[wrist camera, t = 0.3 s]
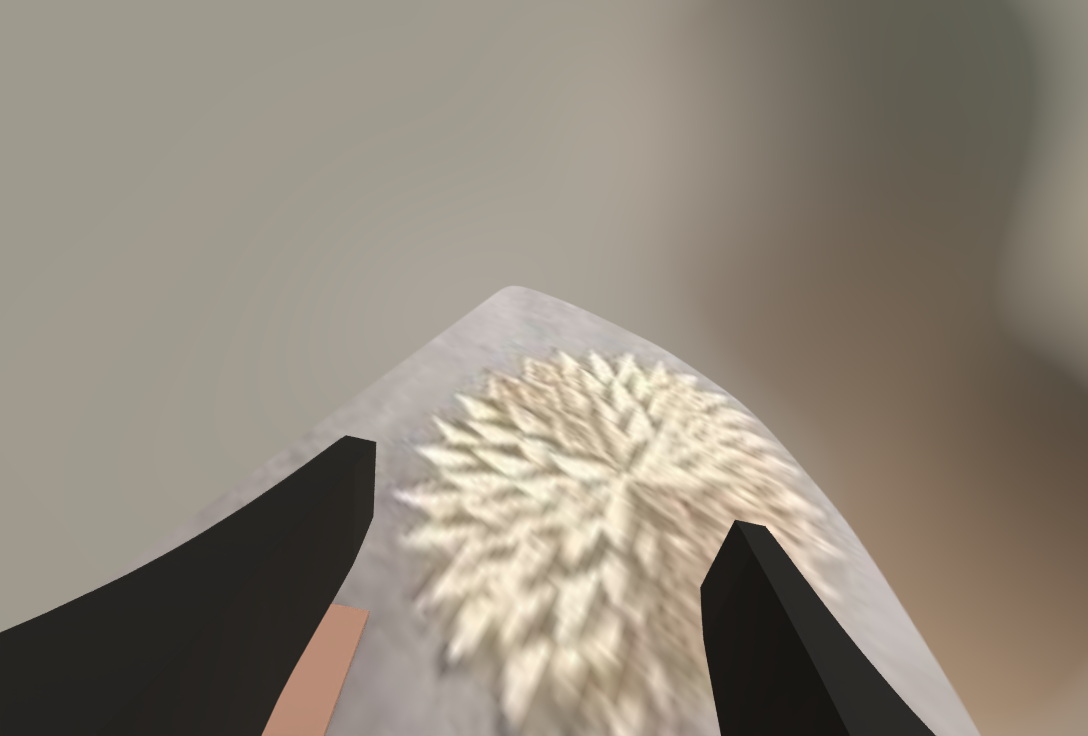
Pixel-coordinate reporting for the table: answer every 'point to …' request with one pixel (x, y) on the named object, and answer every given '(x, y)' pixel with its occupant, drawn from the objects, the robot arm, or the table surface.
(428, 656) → the table surface
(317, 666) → the terracotta mat
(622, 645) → the table surface
